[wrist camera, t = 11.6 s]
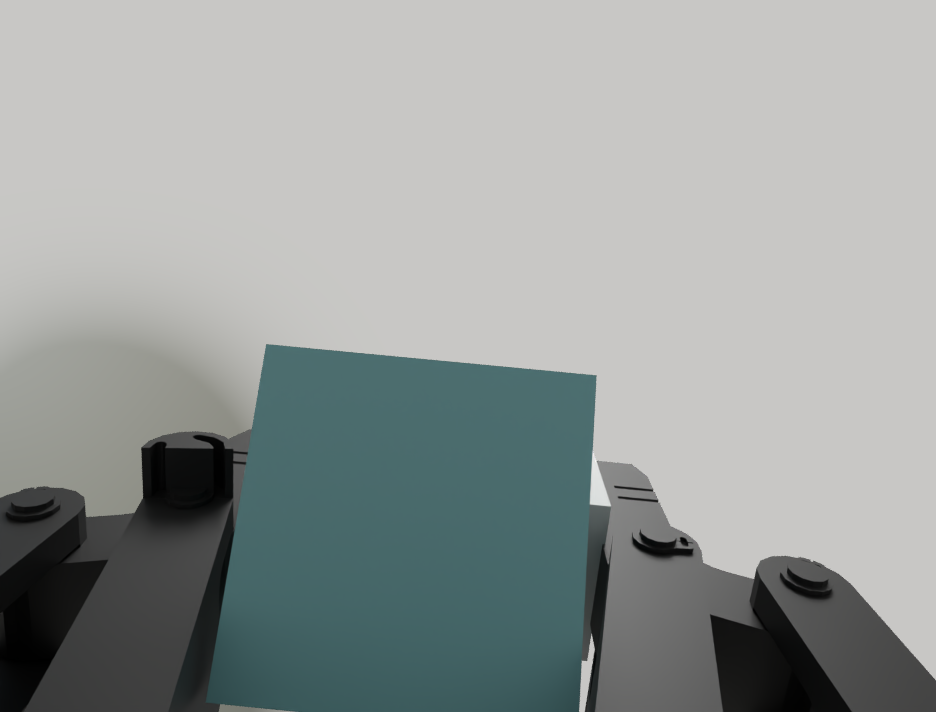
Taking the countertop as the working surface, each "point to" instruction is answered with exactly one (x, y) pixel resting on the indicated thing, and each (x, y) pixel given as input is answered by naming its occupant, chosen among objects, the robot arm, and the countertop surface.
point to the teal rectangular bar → (408, 538)
